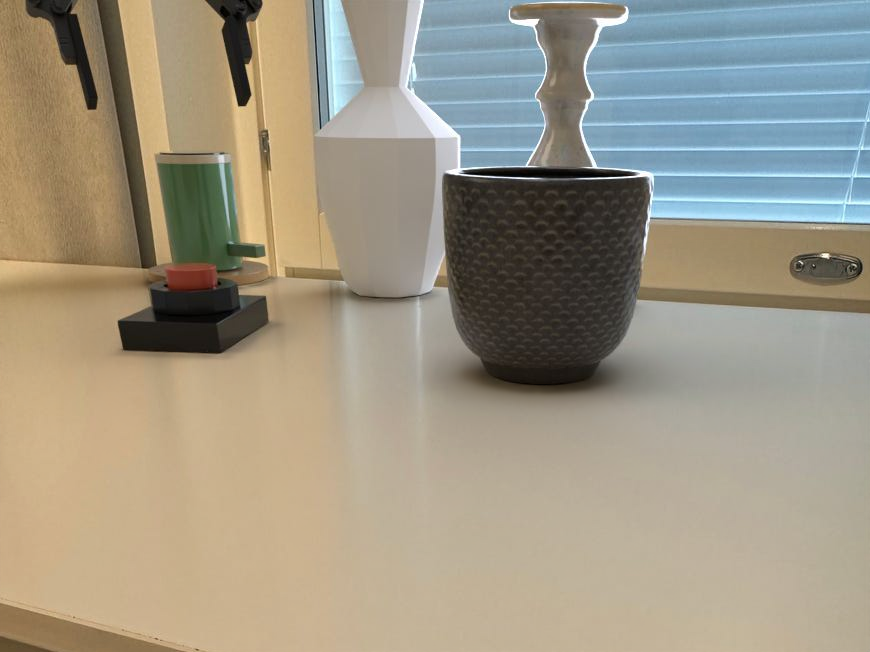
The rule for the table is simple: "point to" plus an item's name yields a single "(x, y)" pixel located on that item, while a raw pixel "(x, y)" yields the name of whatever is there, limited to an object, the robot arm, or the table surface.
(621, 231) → the planter
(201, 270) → the timer button
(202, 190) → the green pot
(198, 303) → the black base
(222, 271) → the trivet
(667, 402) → the table surface
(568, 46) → the candle holder
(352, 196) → the vase
